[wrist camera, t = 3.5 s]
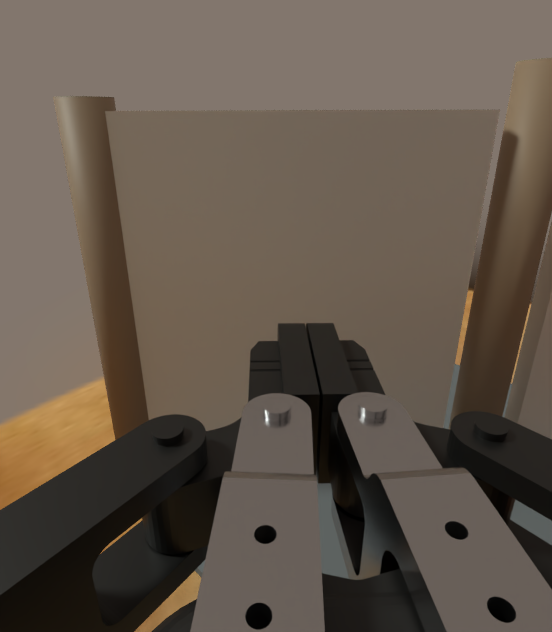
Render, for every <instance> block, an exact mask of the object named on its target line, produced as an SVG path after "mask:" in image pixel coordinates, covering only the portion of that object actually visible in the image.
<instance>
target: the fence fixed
mask: <svg viewBox="0 0 552 632" xmlns="http://www.w3.org/2000/svg"><path fill="white" fill-rule="evenodd" d="M551 212H552V58H544V59H532V60H524V61H519V62H516V66H515V71H514V76H513V82H512V87H511V93H510V98H509V103H508V109H507V114H506V120H505V125H504V131H503V136H502V141H501V147H500V152H499V158H498V163H497V168H496V174H495V179H494V185H493V191H492V195H491V201H490V206H489V212H488V217H487V223H486V228H485V234H484V239H483V244H482V250H481V255H480V261H479V266H478V271H477V277H476V283H475V288H474V293H473V298H472V304H471V309H470V315H469V320H468V326H467V331H466V336H465V342H464V347H463V353H462V358H461V363H460V369H459V374H458V380H457V385H456V391H455V396H454V401H453V407H452V412H451V418H450V423H449V429H450V427H451V422H452V420H453V418H454V417H455V416H457V415H458V414H461V413H464V412H469V411H482V412H488V413H492V414H496V415H499V416H503V412H504V408H505V404H506V399H507V395H508V391H509V387H510V383H511V379H512V375H513V370H514V366H515V362H516V358H517V354H518V350H519V345H520V341H521V337H522V333H523V329H524V325H525V320H526V316H527V312H528V308H529V304H530V300H531V295H532V291H533V287H534V283H535V279H536V275H537V270H538V266H539V262H540V258H541V254H542V250H543V245H544V241H545V237H546V233H547V229H548V224H549V220H550V216H551ZM504 418H507V419H509V420H511V421H513V422H515V423H517V424H520V425H522V426H524V427H526V428H528V429H530V430H532V431H535V432H537V433H539V434H541V435H543V436H545V437H547V438H549V439H552V223H551V227H550V231H549V235H548V239H547V244H546V248H545V252H544V256H543V260H542V264H541V268H540V272H539V277H538V281H537V285H536V289H535V293H534V297H533V301H532V305H531V309H530V313H529V317H528V322H527V326H526V330H525V334H524V338H523V342H522V346H521V350H520V355H519V359H518V363H517V367H516V371H515V375H514V379H513V383H512V388H511V392H510V396H509V400H508V404H507V408H506V412H505V416H504Z"/></svg>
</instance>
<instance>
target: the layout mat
mask: <svg viewBox="0 0 552 632" xmlns="http://www.w3.org/2000/svg"><path fill="white" fill-rule="evenodd" d="M459 369H460V366H459V365H456V364H454V370H453V376H452V381H451V387H450V392H449V398H448V404H447V409H446V415H445V420H444V426H443V428H445V429H449V423H450V418H451V412H452V407H453V401H454V396H455V391H456V385H457V380H458V374H459ZM511 388H512V384H510V387H509V391H508V395H507V399H506V404H505V408H504V412H503V416H502V417H504V416H505V412H506V408H507V404H508V400H509V396H510V392H511ZM316 476H317V472H316ZM317 489H318V509H319V528H320V547H321V567H322V573H324V574H328V575H333V576H338V577H342V578H347V579H349V577H348V573H347V569H346V566H345V562H344V558H343V555H342V551H341V547H340V544H339V540H338V536H337V533H336V529H335V525H334V522H333V518H332V514H331V504H332V488H331V483H319V484H318V479H317ZM510 520H512V521H513V522H515V523H517V524H518V525H520V526H521V527H523V528H525V529H526V530H528V531H530V532H531V533H533V534H534V535H536V536H538V537H539V538H541V539H542V540H544V541H546V542H547V543H549V544H550V545H552V521H551V520H550V519H548V518H546V517H545V516H543V515H541V514H539V513H538V512H536V511H534V510H533V509H531V508H529V507H527V506H526V505H524V504H522V503H521V502H519V501H517V500H515V503H514V507H513V510H512V514H511V517H510ZM204 564H205V560H204V561H203V562H202V564H201V565H200V566H199V567H198V568H197V569H196V570H195V571H196V572H197V573H198V574H199V575H200V576H201V577H202V574H203V569H204Z"/></svg>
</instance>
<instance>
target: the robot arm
mask: <svg viewBox="0 0 552 632" xmlns="http://www.w3.org/2000/svg"><path fill="white" fill-rule="evenodd" d="M316 472H317V476H316ZM317 479H318V484H319V483H331V488H332V504H331V514H332V518H333V522H334V525H335V529H336V533H337V536H338V540H339V544H340V547H341V551H342V555H343V558H344V562H345V566H346V569H347V573H348V577H349V579H347V578H342V577H338V576H333V575H328V574H324V573H322V567H321V547H320V528H319V509H318V489H317ZM515 500H517V501H519V502H521V503H522V504H524V505H526V506H527V507H529V508H531V509H533V510H534V511H536V512H538V513H539V514H541V515H543V516H545V517H546V518H548V519H550V520H551V521H552V439H549V438H547V437H545V436H543V435H541V434H539V433H537V432H535V431H532V430H530V429H528V428H526V427H524V426H522V425H520V424H517V423H515V422H513V421H511V420H509V419H507V418H504V417H502V416H499V415H496V414H492V413H488V412H482V411H469V412H464V413H461V414H458V415H457V416H455V417H454V418H453V420H452V422H451V427H450V429H445V428H439V427H434V426H429V425H424V424H420V423H417V422H414V421H413V420H412V419H411V417H410V415H409V414H408V412H407V411H406V409H405V408H404V406H403V405H402V404H401V403H399V402H398V401H397V400H395V399H393V398H391V397H389V396H386V395H385V393H384V390H383V388H382V386H381V384H380V381H379V379H378V377H377V375H376V373H375V370H373V366H372V364H371V362H370V359H369V357H368V355H367V353H366V350H365V349H364V348H363V347H361V346H360V345H359V344H357V343H356V342H355V341H354V340H339V337H338V334H337V332H336V329H335V326H334V323H306V327H305V323H278V334H277V341H258V342H257V344H256V345H255V346H254V347H253V348H252V349H251V350H250V372H249V393H248V403H247V404H246V405H245V407H244V409H243V412H242V417H241V418H240V419H238V420H237V421H236V422H234V423H232V424H230V425H227V426H225V427H222V428H218V429H214V430H209V431H206V430H205V427H204V426H203V424H202V423H201V422H200V421H199V420H197V419H195V418H193V417H190V416H187V415H180V414H172V415H164V416H160V417H156V418H153V419H151V420H149V421H147V422H145V423H143V424H141V425H140V426H138V427H137V428H135V429H133V430H132V431H130V432H128V433H127V434H125V435H123V436H122V437H120V438H118V439H117V440H115V441H113V442H112V443H110V444H109V445H107V446H105V447H104V448H102V449H100V450H99V451H97V452H95V453H94V454H92V455H90V456H89V457H87V458H85V459H84V460H82V461H80V462H79V463H77V464H76V465H74V466H72V467H71V468H69V469H67V470H66V471H64V472H62V473H61V474H59V475H57V476H56V477H54V478H52V479H51V480H49V481H48V482H46V483H44V484H43V485H41V486H39V487H38V488H36V489H34V490H33V491H31V492H29V493H28V494H26V495H24V496H23V497H21V498H20V499H18V500H16V501H15V502H13V503H11V504H10V505H8V506H6V507H5V508H3V509H1V510H0V632H134V631H135V630H136V629H137V628H138V627H139V626H140V625H141V624H142V623H143V622H144V621H145V620H146V619H147V618H148V617H149V616H150V615H151V614H152V613H153V612H154V611H155V610H156V609H157V608H158V607H159V606H160V605H161V604H162V603H163V602H164V601H165V600H166V599H167V598H168V597H169V596H170V595H171V594H172V593H173V592H174V591H175V590H176V589H177V588H178V587H179V586H180V585H181V584H182V583H183V582H184V581H185V580H186V579H187V578H188V577H189V576H190V575H191V574H192V573H193V572H194V571H195V570H196V569H197V568H198V567H199V566H200V565H201V564H202V562H203V561H204V560H205V564H204V569H203V574H202V578H201V583H200V588H199V593H198V597H197V599H196V600H194V601H193V602H191V603H189V604H187V605H185V606H184V607H182V608H180V609H179V610H178V611H176V612H175V613H173V614H172V615H170V616H169V617H168V618H166V619H165V620H164V621H163V622H162V623H161V624H160V625H158V626H157V627H156V628H155V629H154V630H153V631H152V632H552V545H550V544H549V543H547V542H546V541H544V540H542V539H541V538H539V537H538V536H536V535H534V534H533V533H531V532H530V531H528V530H526V529H525V528H523V527H521V526H520V525H518V524H517V523H515V522H513V521H512V520H510V517H511V514H512V510H513V507H514V503H515ZM141 518H142V519H143V520H142V521H141V522H140V523H139V524H137V525H136V526H135V527H134V528H132V529H131V530H130V531H129V532H127V533H126V534H125V535H124V536H122V537H121V538H120V539H119V540H117V541H116V542H115V543H114V544H112V545H111V546H110V547H109V548H107V549H106V550H105V551H104V552H102V550H103V549H104V548H105V547H106V546H107V545H108V544H109V543H110V542H112V541H113V540H114V539H116V538H117V537H118V536H119V535H121V534H122V533H123V532H124V531H126V530H127V529H128V528H129V527H131V526H132V525H133V524H134V523H136V522H137V521H138V520H139V519H141ZM101 552H102V553H101ZM100 553H101V554H100ZM99 554H100V555H99Z"/></svg>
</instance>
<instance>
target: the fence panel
mask: <svg viewBox="0 0 552 632" xmlns="http://www.w3.org/2000/svg"><path fill="white" fill-rule="evenodd" d="M53 99H54V104H55V109H56V114H57V120H58V126H59V131H60V137H61V142H62V148H63V154H64V159H65V164H66V169H67V175H68V181H69V187H70V192H71V198H72V203H73V208H74V214H75V219H76V225H77V231H78V236H79V241H80V247H81V253H82V258H83V263H84V269H85V274H86V280H87V286H88V291H89V297H90V302H91V308H92V313H93V319H94V324H95V329H96V335H97V341H98V346H99V352H100V357H101V363H102V368H103V374H104V379H105V385H106V390H107V396H108V401H109V407H110V412H111V418H112V423H113V429H114V434H115V440H117V439H118V438H120V437H122V436H123V435H125V434H127V433H128V432H130V431H132V430H133V429H135V428H137V427H138V426H140V425H141V424H143V423H145V422H147V421H149V420H151V419H153V418H156V417H160V416H164V415H172V414H180V415H187V416H190V417H193V418H195V419H197V420H199V421H200V422H201V423H202V424H203V426H204V427H205V430H206V431H209V430H214V429H218V428H222V427H225V426H227V425H230V424H232V423H234V422H236V421H237V420H238V419H240V418H241V417H242V412H243V409H244V407H245V405H246V404H247V403H248V393H249V372H250V350H251V349H252V348H253V347H254V346H255V345H256V344H257V342H258V341H277V334H278V323H305V327H306V323H334V326H335V329H336V332H337V334H338V337H339V340H354V341H355V342H356V343H357V344H359V345H360V346H361V347H363V348H364V349H365V350H366V353H367V355H368V357H369V359H370V362H371V364H372V366H373V370H375V373H376V375H377V377H378V379H379V381H380V384H381V386H382V388H383V390H384V393H385V395H386V396H389V397H391V398H393V399H395V400H397V401H398V402H399V403H401V404H402V405H403V406H404V408H405V409H406V411H407V412H408V414H409V415H410V417H411V419H412V420H413V421H414V422H417V423H420V424H424V425H429V426H434V427H439V428H443V426H444V420H445V415H446V409H447V404H448V398H449V392H450V387H451V381H452V376H453V370H454V364H455V359H456V353H457V348H458V342H459V336H460V331H461V325H462V320H463V314H464V308H465V303H466V297H467V292H468V286H469V280H470V275H471V268H472V263H473V258H474V252H475V247H476V241H477V236H478V230H479V224H480V219H481V213H482V208H483V202H484V196H485V190H486V185H487V179H488V174H489V168H490V163H491V157H492V152H493V145H494V139H495V135H496V129H497V123H498V118H499V112H500V110H299V111H298V110H289V111H287V110H286V111H285V110H281V111H280V110H277V111H276V110H271V111H270V110H266V111H116V108H115V101H114V97H87V96H82V97H81V96H80V97H79V96H75V97H74V96H73V97H72V96H71V97H68V96H67V97H53Z"/></svg>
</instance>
